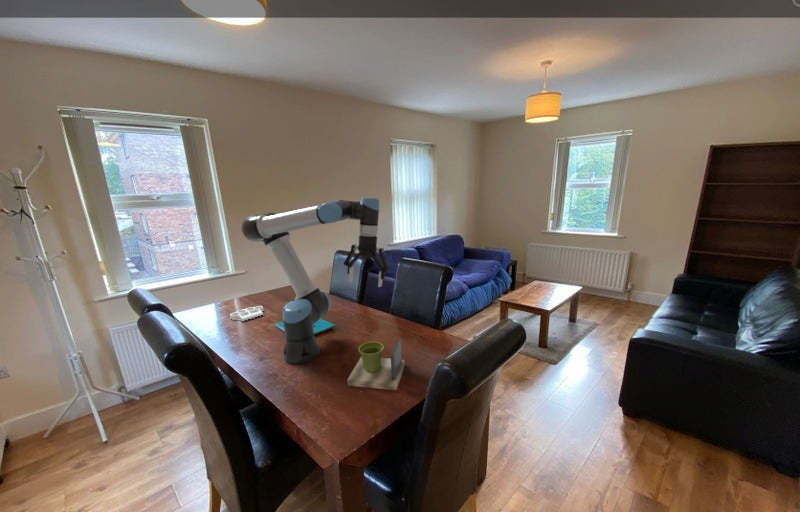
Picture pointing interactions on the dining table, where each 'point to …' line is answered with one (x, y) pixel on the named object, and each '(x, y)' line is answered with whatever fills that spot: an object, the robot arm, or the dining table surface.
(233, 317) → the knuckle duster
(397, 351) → the bookend
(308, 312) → the robot arm
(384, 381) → the shelf board
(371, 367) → the plant pot
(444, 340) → the dining table surface
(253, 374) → the dining table surface
